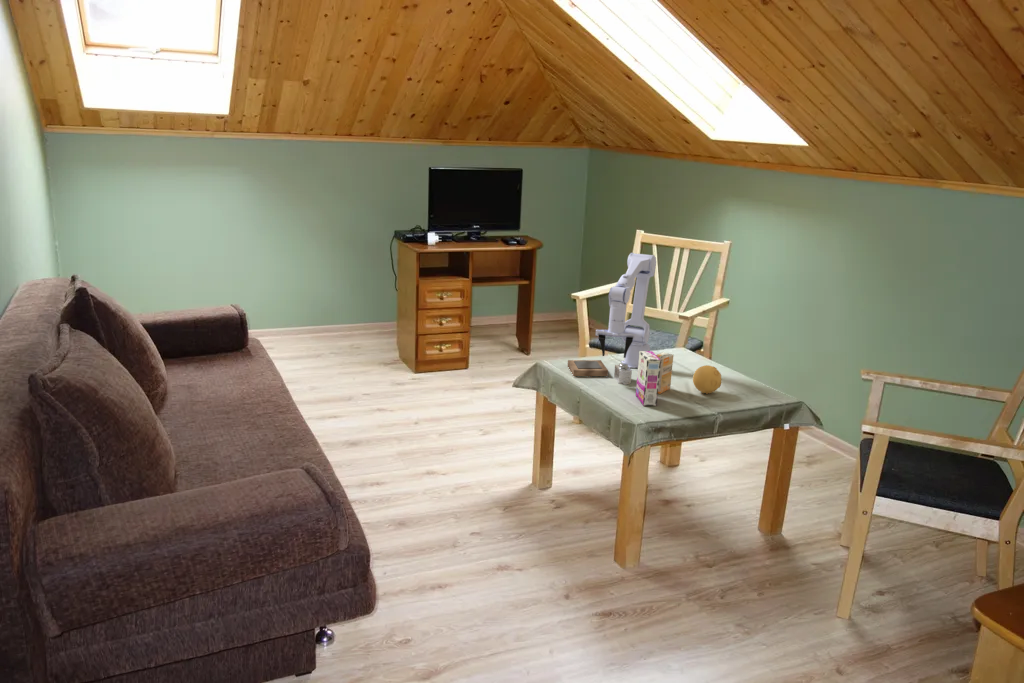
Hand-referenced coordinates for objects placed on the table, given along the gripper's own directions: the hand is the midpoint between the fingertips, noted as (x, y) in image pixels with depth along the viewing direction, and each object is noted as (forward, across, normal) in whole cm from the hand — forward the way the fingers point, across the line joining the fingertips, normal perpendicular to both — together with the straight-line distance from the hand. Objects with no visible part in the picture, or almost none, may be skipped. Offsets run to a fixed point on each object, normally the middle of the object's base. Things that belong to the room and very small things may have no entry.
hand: (614, 356), depth 289 cm
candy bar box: (+10, +12, -18) cm, 24 cm away
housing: (+10, +4, +3) cm, 11 cm away
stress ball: (+10, +34, -4) cm, 35 cm away
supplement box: (+10, +17, -5) cm, 21 cm away
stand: (+9, -10, +10) cm, 17 cm away
